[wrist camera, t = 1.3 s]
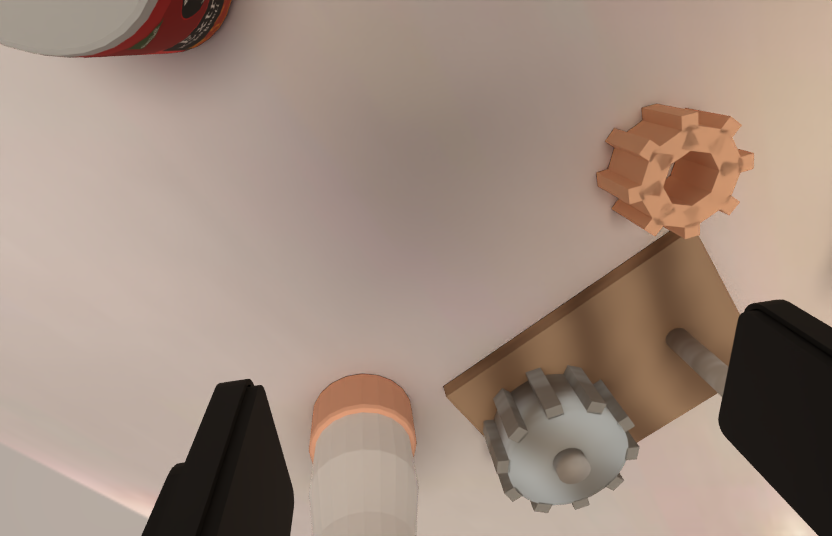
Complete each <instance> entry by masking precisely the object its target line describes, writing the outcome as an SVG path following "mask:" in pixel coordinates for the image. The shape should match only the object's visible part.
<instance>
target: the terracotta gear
mask: <svg viewBox="0 0 832 536" xmlns="http://www.w3.org/2000/svg"><path fill="white" fill-rule="evenodd" d="M642 119H643V121H641V122H640V123H638V124H637V125H636V126H634V127H633V128H632V129H630V130H629V131H628V132H624V131H621V130H618V129H615V128H614V129H613V131H612V132H611V134H610V135H609V137H608V138H607V139H606V141H605V142H607V143H608V144H610V145H611V146H613V147H614V150H613V154H612V157H611V161H610V164H609V167H608V169H607V170H604V171H600V172H597V173H596V174H597V184H598V187H600V188H602V189H604V190H605V191H607V192H609V193H611V194H612V195H614V196H616V197H618V200H617V202H616V203H615V204H614V206H613V207H612V209H613V210H614V211H616V212H617V213H619V214H620V215H622V216H624V217H625V218H627V219H628V220H630V221H631V222H633V223H635V224H636V225H638V226H639V227H641V228H643V229H644V230H646V231H647V232H649V233H651V234H652V235H654V236H656V235H657V233H658V232H659V231H660V230H661V228H662V227H665V228H667V229H668V230H670V231H672V232H673V233H675V234H677V235H679V236H680V237H682V238H684V239H688V238H691V237H695V236H698V235H700V223H701V222H702V221H704V220H705V219H707V218H708V217H710V216H711V215H713V214H714V213H716V212H717V211H718V210H719V211H721V212H723V213H726V214H728V215H730V214H731V212H732V211H733V210H734V209H735V207H736V206H737V205H738V204H739V203H740V202H739V201H738V200H737V199H735V198H734V197H732V196H731V195H732V193H733V190H734V188H735V185H736V182H737V180H738V177H739V175H740V173H741V172H744V171H748V170H751V169H753V168H754V153H751V152H748V151H744V150H740V149H737V147H736V145H735V143H734V140H733V138H732V137H733V136H734V134H735V133H736V132H737V131H738V129H739V128H740V127H741V124H740V123H739V122H737V121H736V120H735V119H733V118H732V117H731V116H726V115H721V114H715V113H710V112H705V111H699V110H694V109H688V108H685V109H681V108H676V107H671V106H666V105H660V104H654V105H650V106H647V107H643V108H642ZM674 162H675V164H674V167H673V170H672V173H671V176H670V177H668V178H667V179H666V177H667V174H668V171H669V168H670V165H671V164H673V163H674Z"/></svg>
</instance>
